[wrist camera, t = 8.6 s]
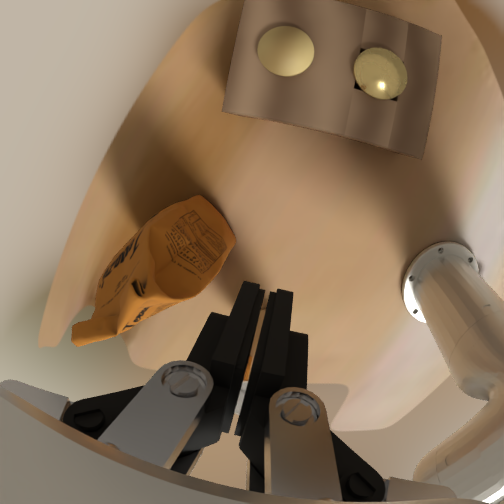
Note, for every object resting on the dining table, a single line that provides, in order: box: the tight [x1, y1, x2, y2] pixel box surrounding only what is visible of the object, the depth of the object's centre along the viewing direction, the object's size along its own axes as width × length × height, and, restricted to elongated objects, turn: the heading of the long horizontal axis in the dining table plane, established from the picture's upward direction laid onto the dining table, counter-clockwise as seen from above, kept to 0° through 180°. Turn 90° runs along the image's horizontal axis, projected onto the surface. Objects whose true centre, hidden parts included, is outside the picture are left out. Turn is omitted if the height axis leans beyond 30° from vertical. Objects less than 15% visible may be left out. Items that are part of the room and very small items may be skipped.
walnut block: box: [222, 0, 442, 160], centre depth 27 cm, size 20×14×9 cm
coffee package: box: [71, 195, 236, 346], centre depth 32 cm, size 10×12×22 cm
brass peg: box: [353, 48, 407, 100], centre depth 27 cm, size 5×5×8 cm
